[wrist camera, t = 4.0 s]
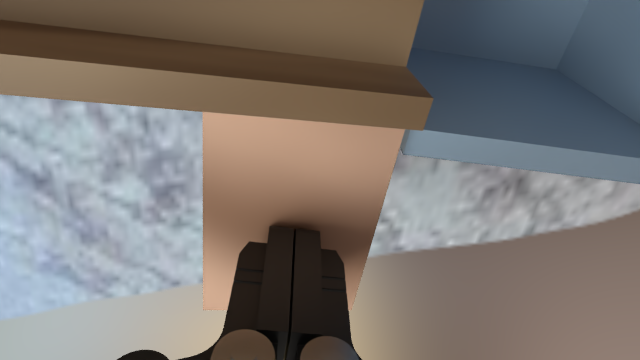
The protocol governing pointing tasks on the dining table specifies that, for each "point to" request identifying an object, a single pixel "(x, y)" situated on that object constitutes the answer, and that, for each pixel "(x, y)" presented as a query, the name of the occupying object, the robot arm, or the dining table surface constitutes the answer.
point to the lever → (245, 103)
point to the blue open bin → (531, 85)
